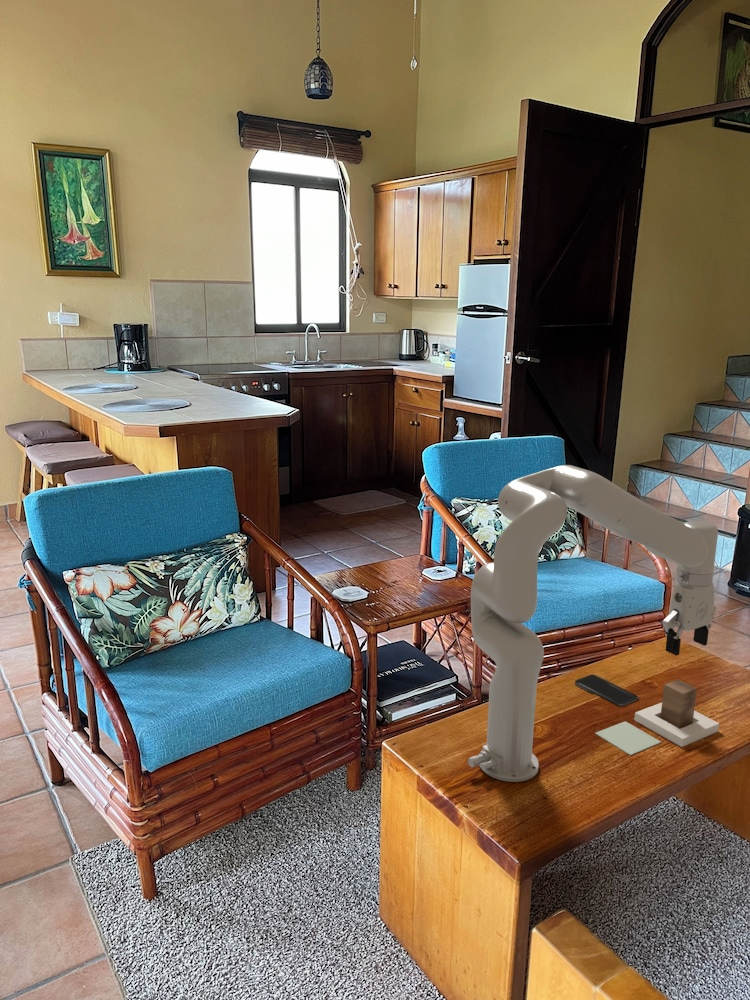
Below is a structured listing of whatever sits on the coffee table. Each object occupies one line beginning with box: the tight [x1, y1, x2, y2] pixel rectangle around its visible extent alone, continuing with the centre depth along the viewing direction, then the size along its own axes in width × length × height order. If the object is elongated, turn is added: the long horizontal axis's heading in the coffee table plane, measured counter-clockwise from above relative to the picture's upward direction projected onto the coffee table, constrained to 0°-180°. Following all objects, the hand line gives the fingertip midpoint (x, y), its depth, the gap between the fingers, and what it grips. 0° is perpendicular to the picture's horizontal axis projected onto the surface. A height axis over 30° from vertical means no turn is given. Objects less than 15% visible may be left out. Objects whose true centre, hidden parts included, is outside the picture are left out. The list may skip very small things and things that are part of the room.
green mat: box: [594, 720, 662, 756], centre depth 166 cm, size 10×10×1 cm
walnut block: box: [660, 679, 698, 729], centre depth 171 cm, size 5×5×10 cm
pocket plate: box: [633, 702, 720, 748], centre depth 172 cm, size 13×13×2 cm
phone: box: [574, 674, 640, 707], centre depth 188 cm, size 8×1×15 cm
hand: (686, 648), depth 167 cm, fingers open, 9 cm apart
